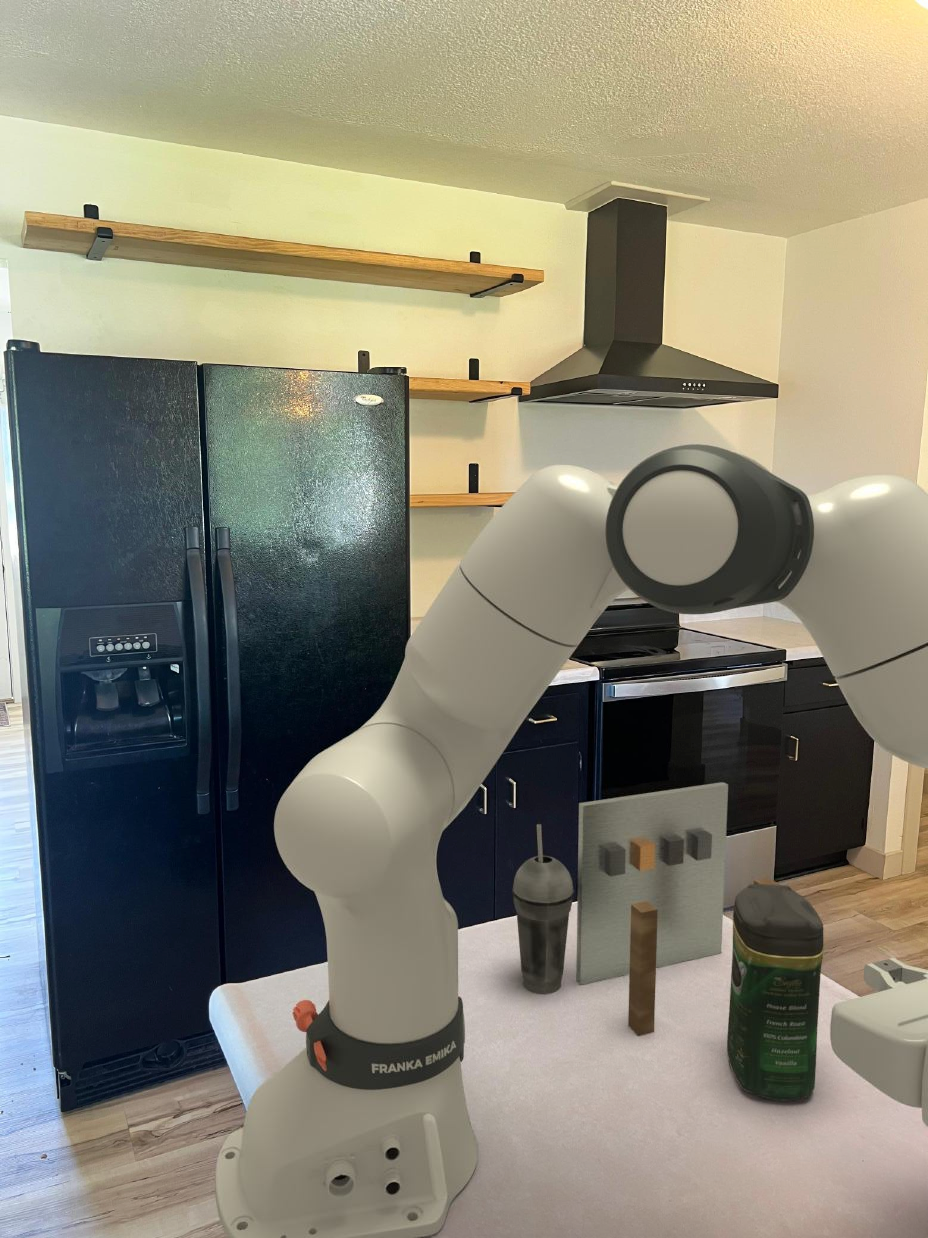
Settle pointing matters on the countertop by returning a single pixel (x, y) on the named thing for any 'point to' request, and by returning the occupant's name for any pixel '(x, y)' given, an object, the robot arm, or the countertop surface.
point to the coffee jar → (774, 992)
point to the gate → (646, 965)
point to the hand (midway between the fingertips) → (876, 969)
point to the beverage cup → (542, 919)
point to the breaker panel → (650, 876)
